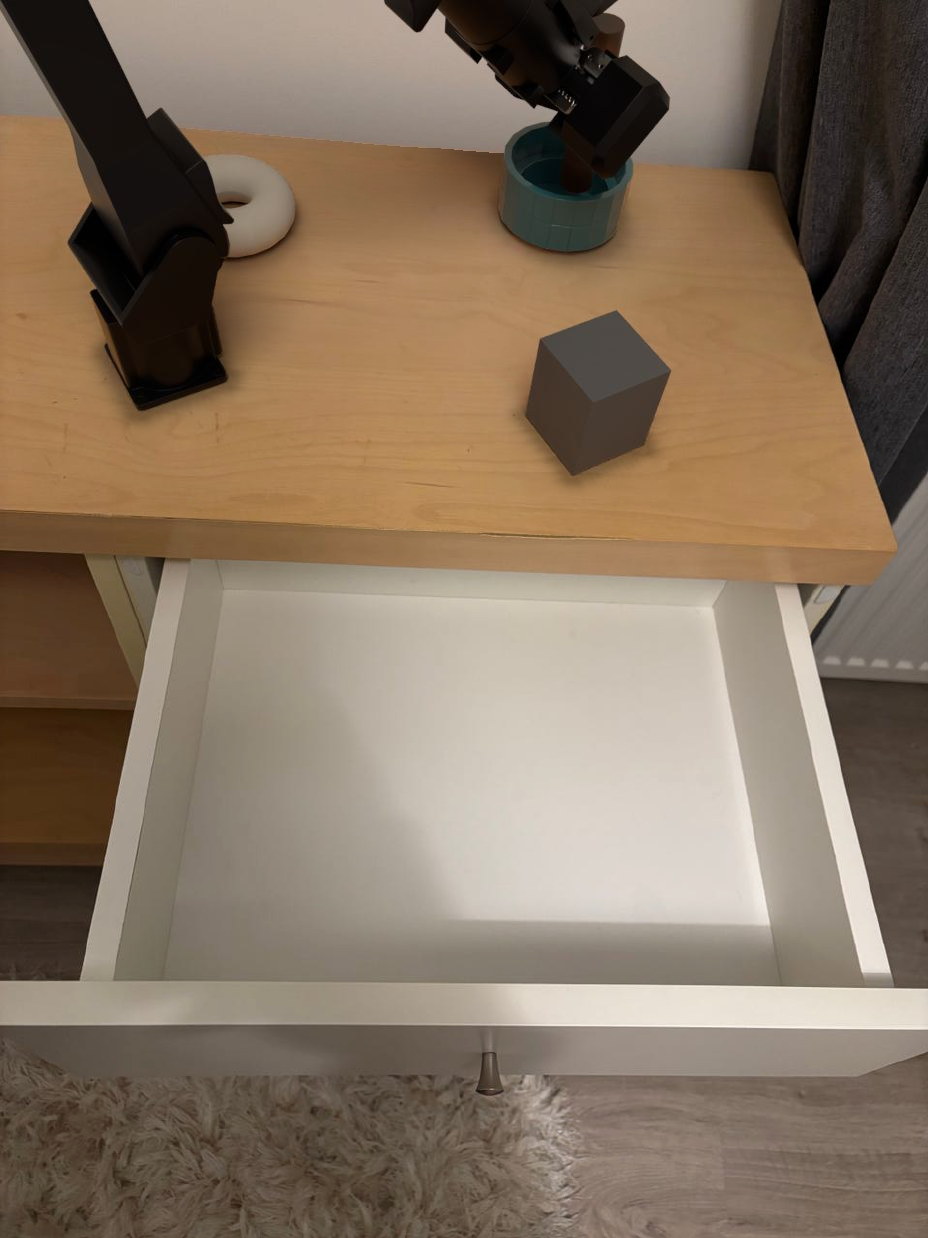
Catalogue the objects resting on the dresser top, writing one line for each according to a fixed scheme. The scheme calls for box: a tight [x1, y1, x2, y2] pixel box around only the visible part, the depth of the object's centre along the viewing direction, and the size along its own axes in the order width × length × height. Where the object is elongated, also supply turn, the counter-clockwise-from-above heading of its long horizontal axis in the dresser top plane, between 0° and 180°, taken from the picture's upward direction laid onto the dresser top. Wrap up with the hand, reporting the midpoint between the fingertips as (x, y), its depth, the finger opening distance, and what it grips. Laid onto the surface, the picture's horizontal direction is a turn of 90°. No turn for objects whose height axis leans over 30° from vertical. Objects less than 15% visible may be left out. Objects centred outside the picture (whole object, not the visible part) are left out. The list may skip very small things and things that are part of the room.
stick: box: [559, 12, 626, 193], centre depth 67 cm, size 3×3×12 cm
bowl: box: [497, 121, 634, 253], centre depth 72 cm, size 10×10×5 cm
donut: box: [202, 153, 297, 258], centre depth 69 cm, size 10×4×10 cm
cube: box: [524, 309, 672, 476], centre depth 59 cm, size 6×6×7 cm
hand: (600, 123), depth 68 cm, fingers closed on stick, 2 cm apart
